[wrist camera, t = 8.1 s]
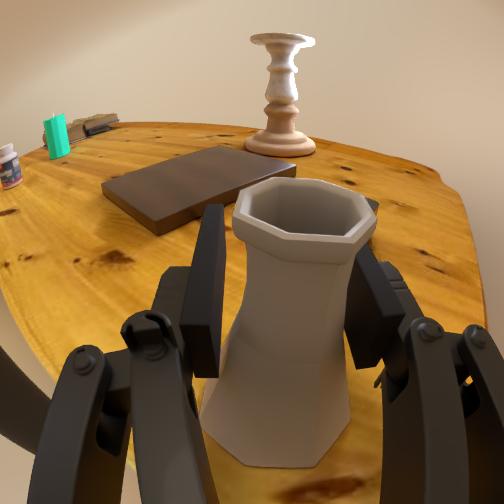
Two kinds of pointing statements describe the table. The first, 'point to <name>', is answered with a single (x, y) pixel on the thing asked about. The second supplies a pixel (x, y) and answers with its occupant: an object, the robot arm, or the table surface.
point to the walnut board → (190, 185)
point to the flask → (288, 324)
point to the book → (87, 127)
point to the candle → (56, 136)
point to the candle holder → (281, 99)
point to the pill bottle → (9, 167)
